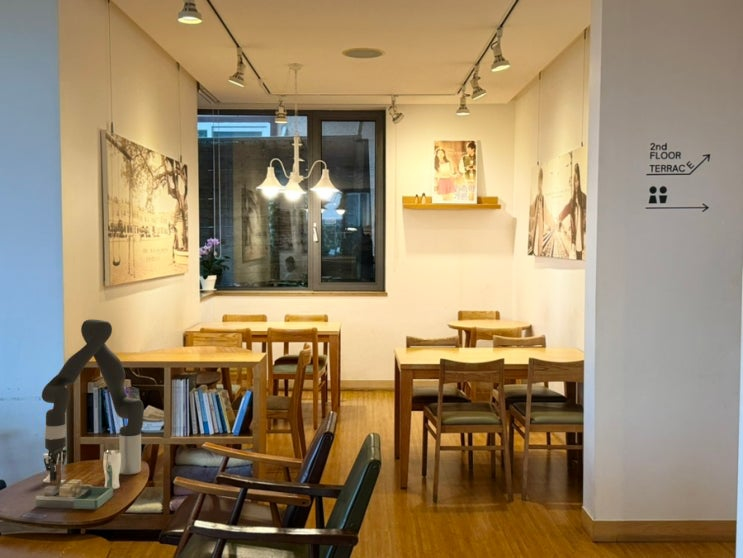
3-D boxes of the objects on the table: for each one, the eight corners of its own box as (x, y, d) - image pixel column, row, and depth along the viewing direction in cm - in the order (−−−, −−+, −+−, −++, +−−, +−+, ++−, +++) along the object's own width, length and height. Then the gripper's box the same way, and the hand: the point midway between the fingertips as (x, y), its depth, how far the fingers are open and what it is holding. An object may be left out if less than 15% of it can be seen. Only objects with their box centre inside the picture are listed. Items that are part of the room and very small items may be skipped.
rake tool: (58, 486, 279) (58, 457, 278) (66, 487, 279) (66, 457, 278) (44, 496, 268) (44, 465, 267) (51, 496, 268) (51, 466, 267)
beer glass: (120, 489, 288) (120, 453, 287) (102, 490, 285) (102, 454, 285) (121, 484, 294) (121, 449, 294) (103, 485, 292) (103, 450, 292)
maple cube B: (64, 494, 272) (64, 484, 272) (74, 494, 272) (74, 484, 271) (59, 497, 268) (59, 487, 268) (69, 498, 268) (69, 488, 267)
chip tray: (91, 495, 280) (91, 486, 280) (113, 496, 279) (113, 487, 279) (73, 508, 265) (73, 499, 265) (96, 509, 265) (96, 500, 264)
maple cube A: (72, 489, 278) (72, 479, 278) (81, 489, 278) (81, 479, 277) (67, 492, 274) (67, 482, 274) (76, 493, 274) (76, 483, 273)
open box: (55, 493, 281) (55, 483, 281) (91, 495, 280) (91, 484, 280) (35, 507, 266) (35, 496, 266) (73, 508, 265) (73, 497, 265)
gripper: (55, 430, 280) (55, 473, 280) (36, 440, 266) (36, 484, 266) (73, 431, 279) (73, 473, 280) (55, 440, 265) (55, 485, 266)
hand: (55, 478), depth 273 cm, fingers closed on rake tool, 3 cm apart
